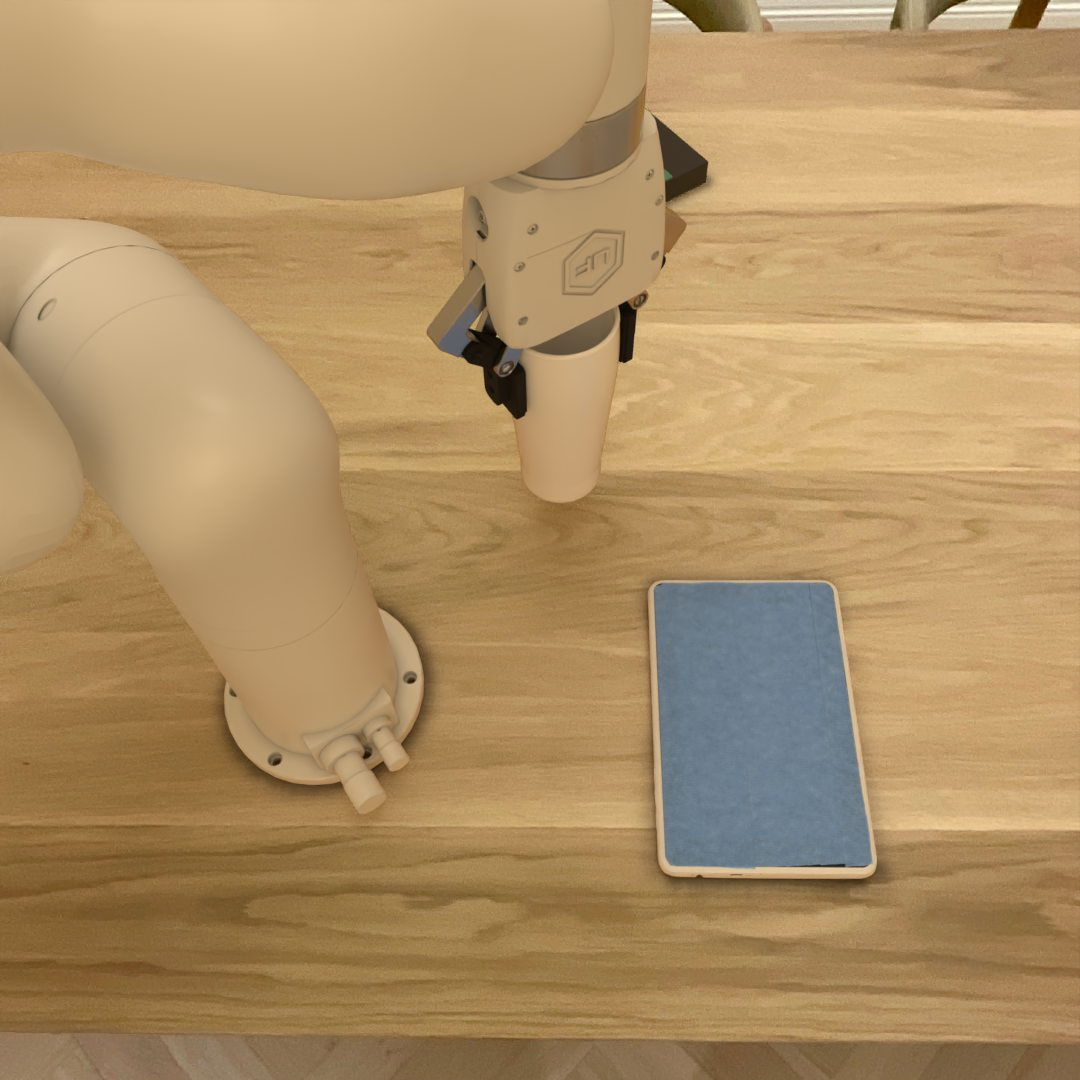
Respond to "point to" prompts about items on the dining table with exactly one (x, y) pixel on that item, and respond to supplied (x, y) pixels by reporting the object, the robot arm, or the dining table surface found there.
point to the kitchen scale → (679, 163)
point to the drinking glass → (568, 408)
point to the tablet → (756, 732)
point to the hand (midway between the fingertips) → (561, 372)
